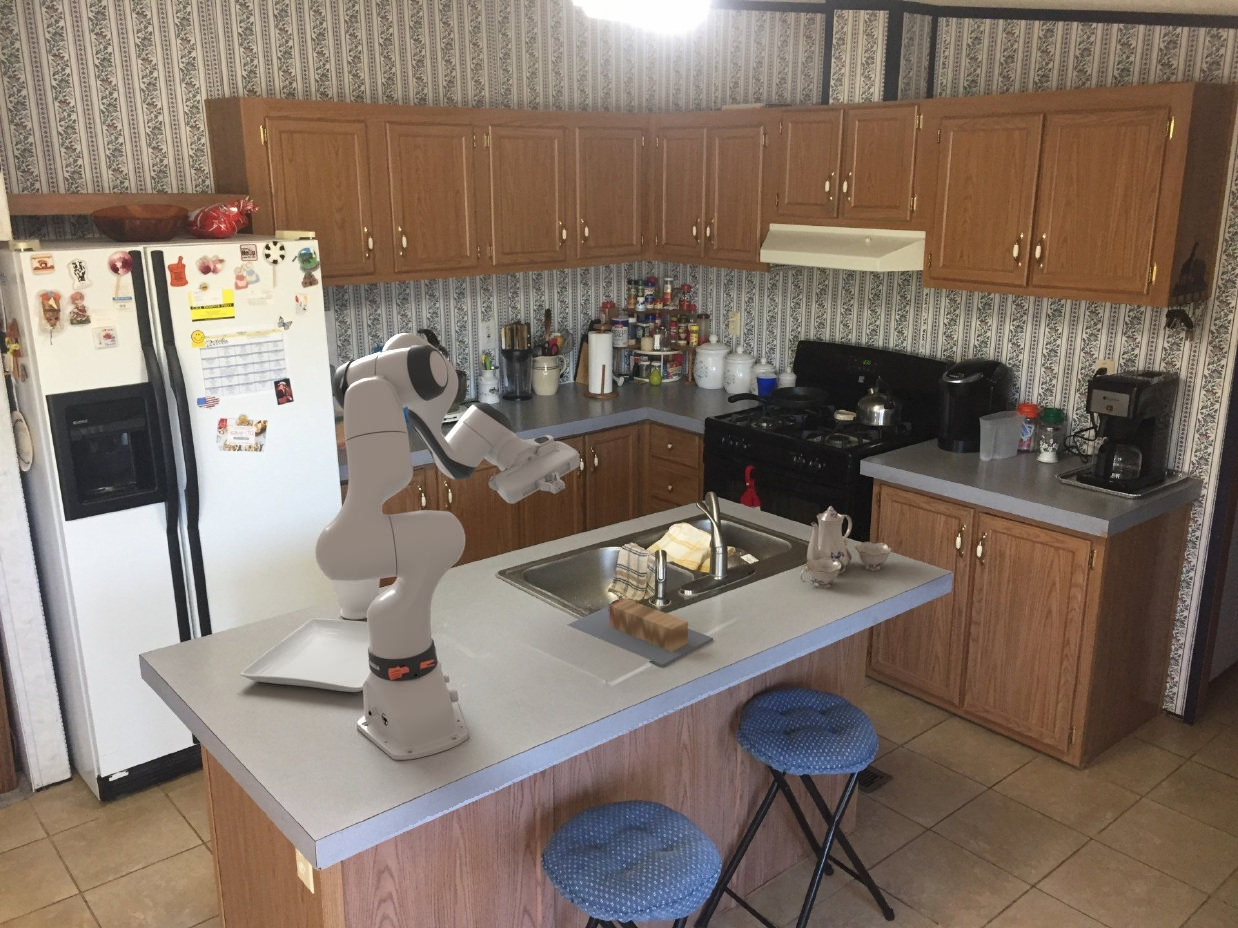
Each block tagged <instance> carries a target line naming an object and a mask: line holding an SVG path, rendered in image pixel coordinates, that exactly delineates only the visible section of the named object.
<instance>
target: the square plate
mask: <svg viewBox="0 0 1238 928" xmlns="http://www.w3.org/2000/svg"><path fill="white" fill-rule="evenodd" d="M369 646H370V643H369V634H368V624H367V621H363V620H350V619H336V618H335V619H334V618H333V619H332V618H318V617H317V618H316V617H314V618H310V619H309V620H307V621H306V622H305V623H304V624H302V625H300V626H299V627H298V628H296V629H295V630H294V631H292V632H290V634H288V635H287V636H286V637H285V638H283V639H282V640H280V641H279V642H278V643H277V644H275V645H274V646H272V647H270V649H268V650H267V651H266V652H264V653H263V654H262V655H261V656H260V657H258V658H257V659H256V660H255V661H253V662H251V664H249V665H248V666H247V667H245V668H244V669H243V670H242V671H240V673H239V676H241V677H243V678H246V679H248V680H250V681H254V682H260V683H267V684H268V683H269V684H276V685H288V686H299V687H300V686H301V687H306V688H309V687H310V688H315V689H322V690H323V689H324V690H331V691H337V692H347V693H348V692H349V693H358V692H361V691H363V683H364V681H365V680H366V678H367V677H368V675H369V673H370V668H369V662H368V648H369Z"/></svg>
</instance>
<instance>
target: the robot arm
mask: <svg viewBox="0 0 1238 928" xmlns="http://www.w3.org/2000/svg"><path fill="white" fill-rule="evenodd" d="M458 390H459V378H458V374H457V371H456V369H455V367H454V366H453V364H452V363H451V362H450V361H449V359H448V358H447V357H446V356H445V355H444V354H443V353H441V351H440V350H438V349H437V348H436V347H435V346H433V345H432V344H431V343H430V342H428V341H427V340H425V339H424V338H422V337H420V336H418V335H417V334H414V333H411V332H402V333H398V334H395V335H394V336H392V337H391V338H390V339H388V341H386V343H385V344H384V346H383V348H382V351H378V352H375V353H373V354H370V355H369V354H368V355H366V356H363V357H361V358H359V359H352V360H349V361H347V362H346V363H344V364H342V365H340V366H339V367H338V368H337V369H336V371H335V373H334V376H333V378H332V391H333V395H334V398H335V401H336V402H337V404H338V406H339V407H340V408H341V409H342V410H343V433H344V440H345V441H344V442H345V449H346V460H347V467H348V468H347V469H348V471H347V472H348V473H347V474H348V485H347V492H346V496H345V499H344V502H343V505H342V506H341V507H340V508H341V509H340V510H339V512H338V513H337V514H336V516H335V517H334V518H333V519H332V521H331V522H330V523H329V524H328V525H327V526H326V527H325V528H324V529H322V531H321V533H320V534H319V536H318V538H317V541H316V543H315V544H316V545H315V559H316V563H317V565H318V567H319V569H320V571H321V572H322V574H323V575H324V576H325V577H326V578H328V579H329V580H330V581H331V582H332V581H343V582H361V581H368V580H375V579H380V580H381V579H386V578H387V579H388V578H394V577H396V579H395V581H394V582H393V583H392V585H391V586H390V587H388V588H387V589H386V590H384V591H383V592H381V593H379V595H378V596H377V597H376V598H375V599H374V600H373V601H372V603H371V604H370V606H369V608H368V611H367V618H366V622H367V624H368V634H369V643H370V646H369V648H368V662H369V668H370V673H369V675H368V677H367V678H366V680H365V681H364V683H363V690H362V692H363V693H362V695H363V714H364V715H363V716H362V717H360V718H359V719H358V720H357V721H356V729H357V730H358V731H359V732H360V733H362V734H363V735H364V736H365V737H366V738H368V739H369V740H370V741H371V742H372V743H374V744H375V745H376V746H377V747H378V748H379V749H381V750H382V751H383V752H384V753H386V755H388V757H390V758H391V759H393V760H395V761H396V760H397V761H399V760H400V761H402V760H412V759H418V758H423V757H428V756H431V755H435V754H437V753H440V752H441V753H442V752H444V751H446V750H449V749H451V748H455V747H457V746H458V745H461V744H462V743H464V742H465V741H467V739H468V738H469V732H468V728H467V726H466V723H465V720H464V717H463V715H462V712H461V709H460V706H459V694H458V689H456V688H455V689H448V685H447V683H450V677H449V674H445V675H444V672H443V669H442V662H441V661H438V656H437V647H436V646H435V640H434V639H433V637H432V625H431V622H432V621H431V619H432V617H431V614H432V610H431V608H432V600H433V597H434V595H435V594H434V593H435V591H436V589H437V587H438V584H439V583H440V581H441V580H442V578H444V575H445V574H446V573H447V572H448V571H449V570H450V569H451V568H452V567H453V566H454V565H455V564H457V562H458V561H459V560H460V559H461V557H462V555H463V553H464V551H465V546H466V534H465V529H464V527H463V525H462V523H461V521H460V520H459V519H458V517H457V516H456V515H454V513H452V512H450V511H448V510H446V511H445V510H433V509H430V510H429V509H424V510H423V509H422V510H416V511H415V510H414V511H408V512H400V513H393V514H388V513H386V514H385V513H384V512H383V505H384V503H385V502H386V501H388V500H389V499H390V498H391V497H393V496H395V495H396V494H398V493H400V492H401V491H402V490H404V489H405V488H406V487H407V486H408V485H409V484H410V483H411V481H412V479H413V475H414V466H413V460H412V452H411V446H410V437H409V432H408V427H407V425H408V424H407V422H406V417H407V420H408V422H409V423H410V425H411V427H412V429H413V430H414V432H415V433H416V434H417V436H418V438H419V439H420V441H421V442H422V443H423V445H424V446H425V448H426V449H427V450H428V452H429V454H430V455H431V458H432V460H433V461H434V463H435V465H436V467H437V468H438V469H439V470H440V472H441V473H442V474H444V475H445V476H446V477H448V478H449V479H452V480H454V481H462V480H466V479H469V478H471V477H472V475H473V474H474V472H475V471H476V470H477V468H478V466H479V465H480V464H481V462H482V461H483V460H484V459H485V460H486V461H487V462H489V464H491V465H493V466H497V468H498V469H499V471H500V472H499V473H497V474H495V475H493V476H491V477H490V479H489V481H488V483H487V484H488V486H489V488H491V489H492V490H494V491H496V492H497V494H498V495H499V496H500V498H502V499H503V500H504V501H505V502H506V503H508V504H516V503H518V502H519V501H521V500H523V499H525V498H527V497H528V496H530V495H532V494H533V493H535V492H537V491H539V490H540V491H541V492H542V491H545V492H550V493H552V494H554V495H555V494H557V493H559V492H561V491H563V490H564V489H566V484H565V482H564V481H563V480H562V479H561V477H564V476H565V475H567V474H568V473H571V472H572V471H574V470H575V469H577V468H579V467H580V464H581V463H580V462H581V461H580V454H579V452H578V450H576V449H575V448H573V447H572V446H570V445H569V444H567V443H564V442H562V441H558V440H556V441H555V440H554V439H555V438H554V436H552V435H550V434H546V435H543V436H540V437H535V438H529V439H528V438H527V439H524V438H520V437H518V436H517V434H516V433H514V431H513V426H512V422H511V420H510V419H509V418H508V417H507V415H506V414H504V413H502V411H500V410H498V409H497V408H494V407H493V406H492V405H491V404H489V403H487V402H475V403H472V405H471V406H469V407H468V408H467V410H466V411H465V412H464V413H463V414H462V415H461V416H460V418H459V420H458V421H457V422H456V423H455V424H454V426H453V427H452V428H451V429H450V430H449V432H448V433H447V434H446V436H444V434H443V433H442V425H443V422H444V419H445V418H446V415H447V414H448V412H449V410H450V408H451V406H452V405H453V403H454V401H455V399H456V397H457V394H458ZM405 408H407V409H406V410H407V411H406V417H405V413H404V410H403V409H405Z"/></svg>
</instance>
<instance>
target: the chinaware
mask: <svg viewBox="0 0 1238 928" xmlns="http://www.w3.org/2000/svg"><path fill="white" fill-rule="evenodd" d="M816 518H817V521H818V524H817V523H816V522H814V521H813V522H811V523H810V524H811V526H812V532H811V537H810V540H809V543H808V546H807V554H806V556H805V557H806V563H805V564H804V569H802V571H801V572H800V575H799V577H800V581H802V582H803V583H808V582H810V584H811V585H815V587H817V588H819V589H827V588H830V587H832V586H831V585H830V584H831V583H833V582H834V581H835V580H836V578H837V577H838V576H839V575H840V574H843V573H845V572H846V570H847V566H848V565H849V564H850V563H851V561H852V558H853V557H852V553H851V552H850V550H849V549H848V547H846V545H848V543H849V540H848V539H847V538H848V537H849V536H850V534H851V532H852V528H853V521H852V518H851V517H850V516H849V515H847V514H840V513H838V512H837V511H836V510H835V509H834V508H833V506H832V505H830V506H829V507H828V508H827V510H825V511H823V512H822V513H818V514H817V515H816ZM845 518H846V519H847V521H848V525H847V530H846V532H845V534H844V536H843V533H842V531H843V529H842V528H843V527H842V526H843V525H842V524H843V523H844V519H845ZM855 550H856V551H857V552H858V555H859V556H858V557H859V559H860V561H861V562H862V564H864V565H865V569H866V570H868V571H872V572H873V571H880V570H881V569H880V568H881V566H883V565H884V564H886V562H887V560H888V558H889V555H890V554H891V553H892V552H893V550H894V549H893V548H892V547H889V546H888V544H887V543H884V542H877V543H873V542H871V541H864V542H861V544H860V545H855ZM804 572H805V573H808V575H809V578H810V579H807V580H804V579H803V578H802V575H803V573H804Z"/></svg>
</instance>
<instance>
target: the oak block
mask: <svg viewBox="0 0 1238 928" xmlns="http://www.w3.org/2000/svg"><path fill="white" fill-rule="evenodd" d="M608 606H609V615H610V627H612V628H615V629H617V630H620V631H622V632H625V633H627V634H630V635H632V636H635V637H637V638H639V639H642V640H644V641H647V642H649V643H652V644H654V645H657V646H659V647H662V648H664V649H667V650H669V651H674V650H676V649H678V648H680V647H682V646H684V645H686V644H688V629H689V628H688V627H689V621H688V620H685V619H683V618H679V617H677V616H674V615H672V614H669V613H666V612H663V611H660V610H658V609H655V608H653V607H650V606H648V605H644V604H641V603H638V602H637V601H633V600H631V599H628V598H623V599H620V600H618V601H616V602H614V603H612V604H609V605H608Z"/></svg>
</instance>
